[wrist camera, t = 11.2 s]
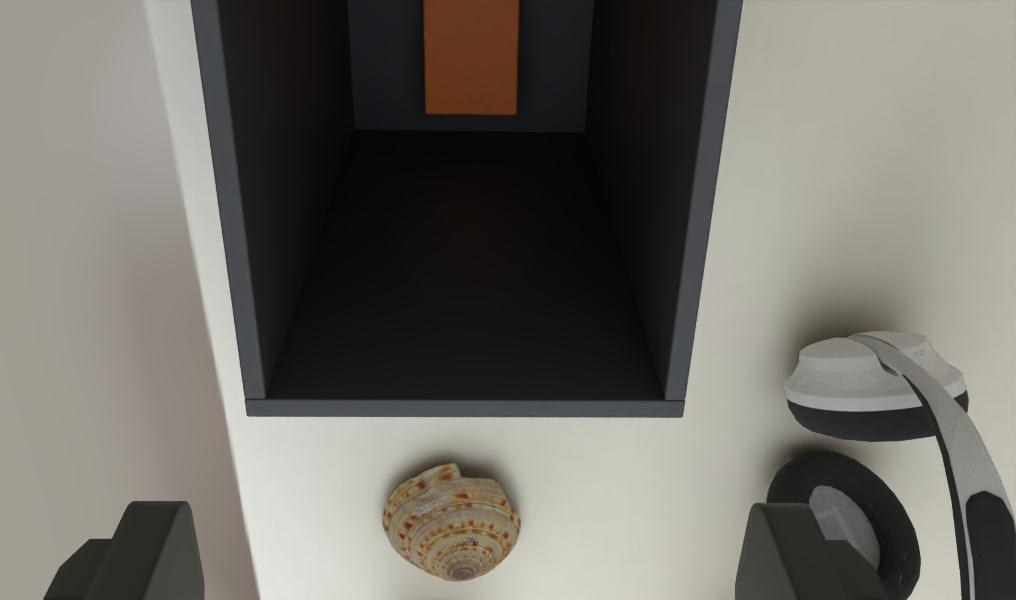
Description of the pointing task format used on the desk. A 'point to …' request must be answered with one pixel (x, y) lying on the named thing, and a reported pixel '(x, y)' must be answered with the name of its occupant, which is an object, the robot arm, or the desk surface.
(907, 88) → the desk surface
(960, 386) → the headphones
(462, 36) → the block
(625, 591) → the desk surface
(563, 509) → the desk surface
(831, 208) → the desk surface
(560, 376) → the wastebasket
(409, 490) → the seashell
